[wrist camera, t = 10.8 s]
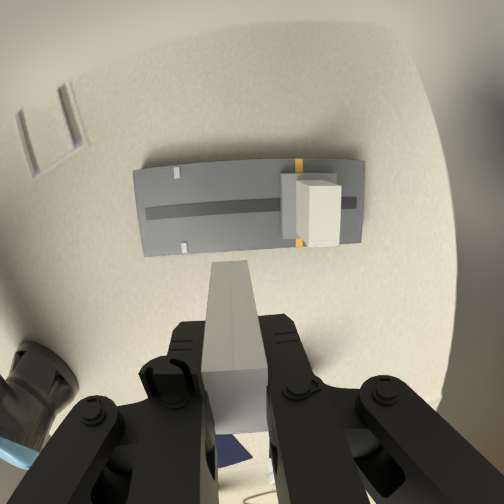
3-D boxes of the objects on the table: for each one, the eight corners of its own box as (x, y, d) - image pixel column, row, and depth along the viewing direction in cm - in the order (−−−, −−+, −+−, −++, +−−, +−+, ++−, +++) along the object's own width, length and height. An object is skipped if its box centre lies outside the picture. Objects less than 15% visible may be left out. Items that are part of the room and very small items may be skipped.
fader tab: (280, 236, 31) (292, 255, 26) (279, 173, 29) (292, 178, 23) (331, 233, 32) (352, 251, 26) (332, 172, 29) (356, 178, 24)
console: (150, 248, 34) (143, 257, 31) (140, 168, 31) (132, 170, 28) (351, 235, 36) (361, 243, 33) (354, 159, 32) (365, 160, 29)
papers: (88, 421, 44) (85, 433, 41) (210, 394, 47) (212, 408, 44) (146, 471, 53) (146, 481, 50) (251, 450, 55) (254, 461, 52)
